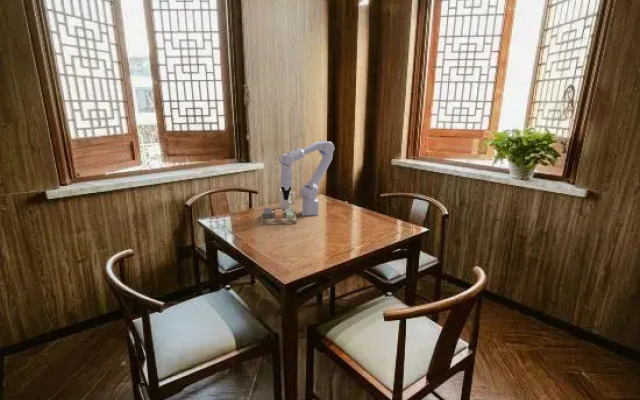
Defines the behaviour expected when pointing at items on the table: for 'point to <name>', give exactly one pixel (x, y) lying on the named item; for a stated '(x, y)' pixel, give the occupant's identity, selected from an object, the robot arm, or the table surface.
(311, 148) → the robot arm
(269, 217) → the key charcoal
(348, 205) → the table surface
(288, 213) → the key celadon
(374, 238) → the table surface
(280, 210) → the key terracotta
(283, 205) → the mug
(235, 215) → the table surface
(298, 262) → the table surface
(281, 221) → the board
